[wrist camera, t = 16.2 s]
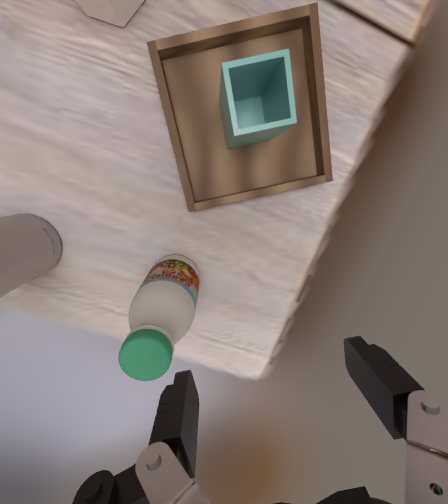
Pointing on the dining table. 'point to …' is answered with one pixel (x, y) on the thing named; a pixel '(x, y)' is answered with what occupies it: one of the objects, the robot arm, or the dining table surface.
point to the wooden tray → (209, 115)
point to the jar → (111, 10)
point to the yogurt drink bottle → (159, 317)
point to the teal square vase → (256, 98)
